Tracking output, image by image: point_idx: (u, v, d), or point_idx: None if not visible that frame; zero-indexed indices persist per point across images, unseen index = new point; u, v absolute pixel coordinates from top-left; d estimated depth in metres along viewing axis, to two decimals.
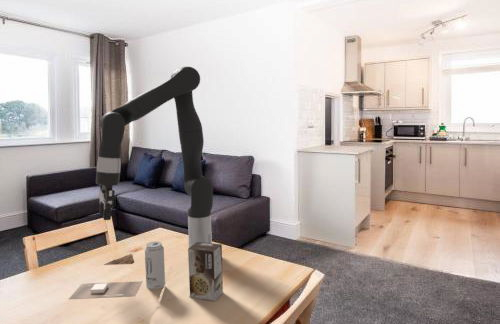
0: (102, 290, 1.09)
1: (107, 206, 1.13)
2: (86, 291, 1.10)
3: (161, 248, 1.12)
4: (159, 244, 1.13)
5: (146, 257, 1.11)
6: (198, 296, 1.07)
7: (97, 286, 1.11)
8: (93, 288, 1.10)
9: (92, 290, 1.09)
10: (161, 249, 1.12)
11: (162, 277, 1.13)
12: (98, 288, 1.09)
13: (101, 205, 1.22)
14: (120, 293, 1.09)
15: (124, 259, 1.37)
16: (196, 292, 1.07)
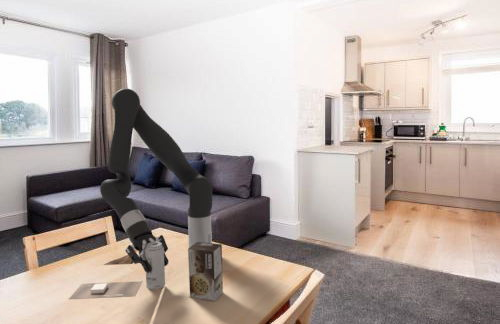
0: (102, 290, 1.09)
1: (134, 261, 1.10)
2: (86, 291, 1.10)
3: (161, 248, 1.12)
4: (159, 244, 1.13)
5: (146, 257, 1.11)
6: (198, 296, 1.07)
7: (97, 286, 1.11)
8: (93, 288, 1.10)
9: (92, 290, 1.09)
10: (161, 249, 1.12)
11: (162, 277, 1.13)
12: (98, 288, 1.09)
13: None
14: (120, 293, 1.09)
15: (124, 259, 1.37)
16: (196, 292, 1.07)
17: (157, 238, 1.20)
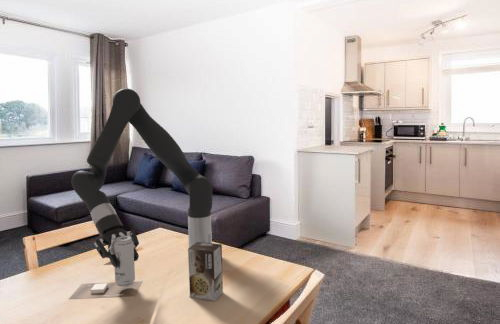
0: (102, 290, 1.09)
1: (102, 256, 1.07)
2: (86, 291, 1.10)
3: (130, 242, 1.09)
4: (128, 238, 1.10)
5: (114, 251, 1.08)
6: (198, 296, 1.07)
7: (97, 286, 1.11)
8: (93, 288, 1.10)
9: (92, 290, 1.09)
10: (130, 243, 1.09)
11: (131, 272, 1.10)
12: (98, 288, 1.09)
13: None
14: (120, 293, 1.09)
15: None
16: (196, 292, 1.07)
17: (128, 232, 1.17)
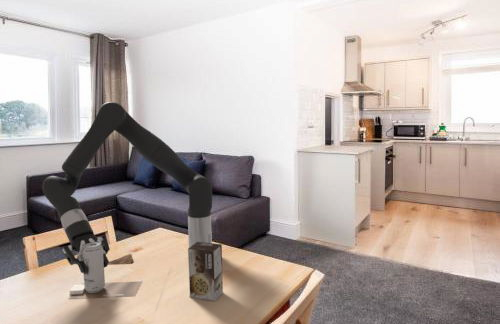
0: (81, 291, 1.09)
1: (70, 262, 1.06)
2: (86, 291, 1.10)
3: (99, 249, 1.08)
4: (97, 244, 1.09)
5: (83, 258, 1.07)
6: (198, 296, 1.07)
7: (77, 287, 1.11)
8: (72, 289, 1.09)
9: (71, 291, 1.08)
10: (99, 250, 1.08)
11: (100, 278, 1.09)
12: (77, 289, 1.09)
13: None
14: (120, 293, 1.09)
15: (123, 259, 1.37)
16: (196, 292, 1.07)
17: (99, 238, 1.16)
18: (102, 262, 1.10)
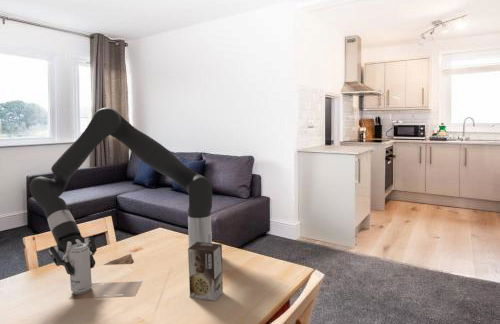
0: None
1: (56, 263, 1.06)
2: None
3: (85, 250, 1.08)
4: (84, 245, 1.09)
5: (69, 259, 1.07)
6: (198, 296, 1.07)
7: None
8: None
9: None
10: (85, 251, 1.08)
11: (87, 280, 1.09)
12: None
13: None
14: (120, 293, 1.09)
15: (123, 259, 1.37)
16: (196, 292, 1.07)
17: (86, 239, 1.16)
18: (88, 263, 1.09)
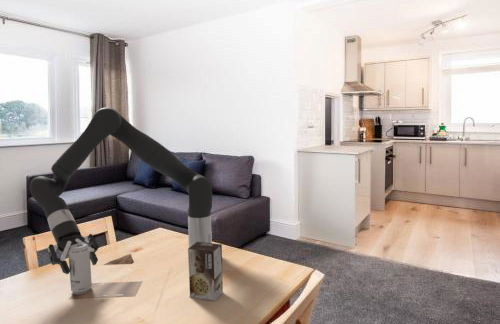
0: None
1: (52, 262, 1.06)
2: None
3: (85, 250, 1.08)
4: (84, 245, 1.09)
5: (69, 259, 1.07)
6: (198, 296, 1.07)
7: None
8: None
9: None
10: (85, 251, 1.08)
11: (87, 280, 1.09)
12: None
13: None
14: (120, 293, 1.09)
15: (123, 259, 1.37)
16: (196, 292, 1.07)
17: (86, 238, 1.16)
18: (88, 263, 1.10)
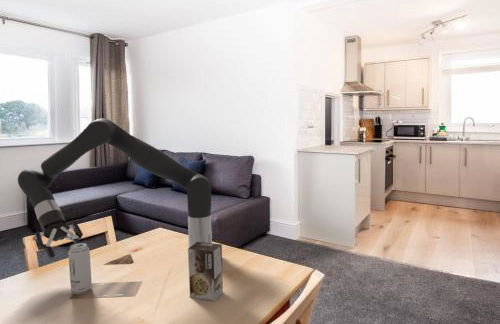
0: None
1: (38, 248, 1.14)
2: None
3: (85, 250, 1.08)
4: (84, 245, 1.09)
5: (69, 259, 1.07)
6: (198, 296, 1.07)
7: None
8: None
9: None
10: (85, 251, 1.08)
11: (87, 280, 1.09)
12: None
13: (74, 243, 1.22)
14: (120, 293, 1.09)
15: (123, 259, 1.37)
16: (196, 292, 1.07)
17: (71, 226, 1.24)
18: (88, 263, 1.10)
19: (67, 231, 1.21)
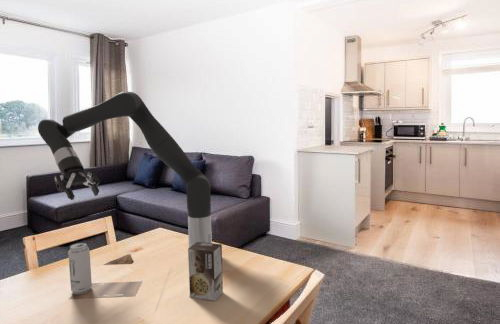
0: None
1: (58, 189, 1.19)
2: None
3: (85, 250, 1.08)
4: (84, 245, 1.09)
5: (69, 259, 1.07)
6: (198, 296, 1.07)
7: None
8: None
9: None
10: (85, 251, 1.08)
11: (87, 280, 1.09)
12: None
13: (91, 188, 1.27)
14: (120, 293, 1.09)
15: (123, 259, 1.37)
16: (196, 292, 1.07)
17: (88, 173, 1.29)
18: (88, 263, 1.10)
19: (85, 176, 1.26)
